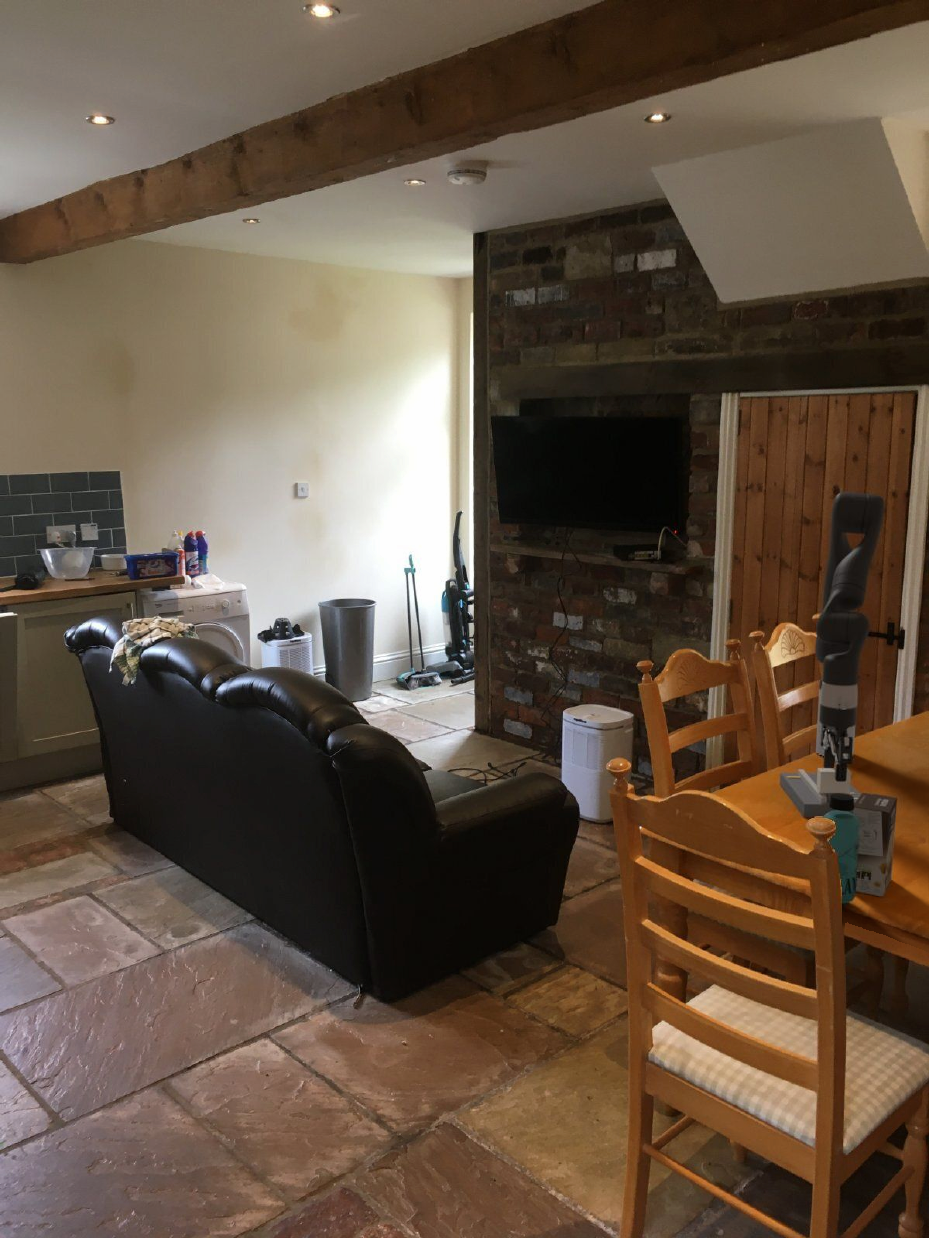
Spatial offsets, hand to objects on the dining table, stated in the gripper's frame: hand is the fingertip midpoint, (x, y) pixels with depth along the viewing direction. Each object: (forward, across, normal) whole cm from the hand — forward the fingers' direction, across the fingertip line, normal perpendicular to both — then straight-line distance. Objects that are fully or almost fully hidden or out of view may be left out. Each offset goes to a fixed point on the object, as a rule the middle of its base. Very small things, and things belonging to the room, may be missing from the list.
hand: (834, 774), depth 218 cm
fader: (+6, 0, 0) cm, 6 cm away
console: (+8, -7, 0) cm, 11 cm away
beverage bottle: (+9, +45, -13) cm, 47 cm away
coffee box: (+9, +37, -4) cm, 38 cm away
